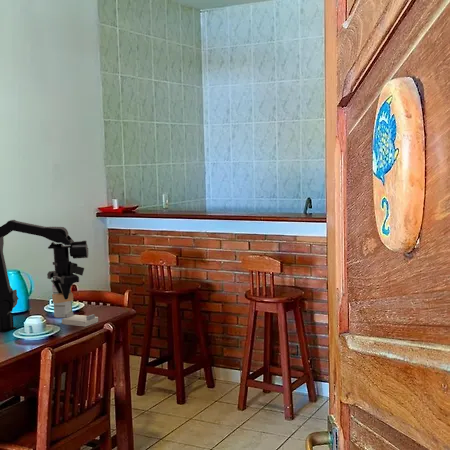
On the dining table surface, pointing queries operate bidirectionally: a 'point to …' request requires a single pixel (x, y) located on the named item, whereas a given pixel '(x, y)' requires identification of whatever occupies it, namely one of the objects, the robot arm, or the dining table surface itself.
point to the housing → (61, 298)
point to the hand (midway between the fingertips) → (64, 298)
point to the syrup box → (61, 306)
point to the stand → (79, 319)
